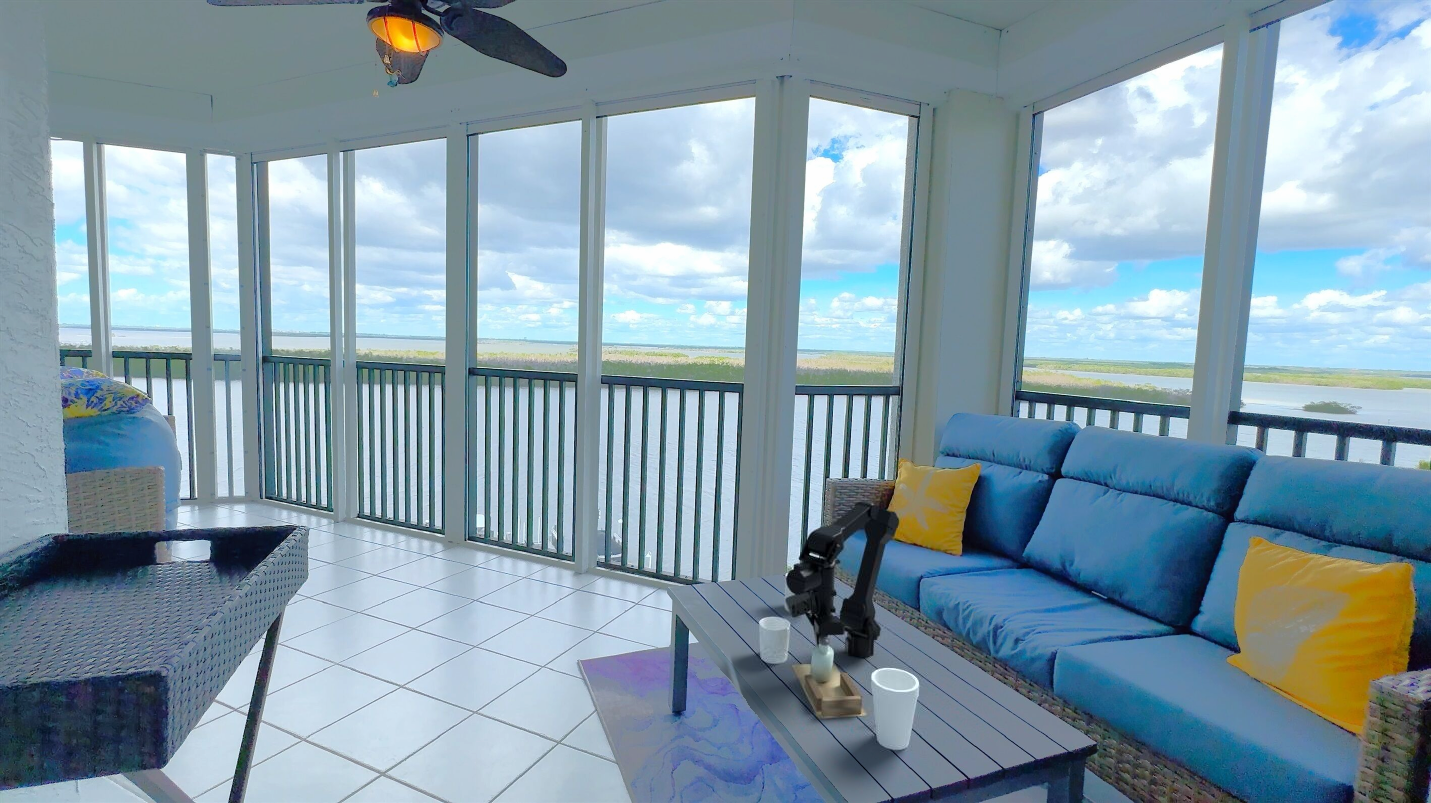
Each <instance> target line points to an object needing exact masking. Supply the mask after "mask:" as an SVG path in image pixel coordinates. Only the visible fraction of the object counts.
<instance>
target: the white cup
mask: <svg viewBox="0 0 1431 803" xmlns="http://www.w3.org/2000/svg"><path fill="white" fill-rule="evenodd" d="M758 630H759V631H758V633H759V634H758V636H759V638H758V640H759V651H760V656H759V657H760V658H761V660H762V661H764V662H765V663H768V664H772V665H773V664H774V665H778V664H783V663H784V662H786V661H787V660H788V653H789V645H790V631H791V622H790V621H789V620H788V619H786V618H784V617H779V616H769V617H768V616H767V617H764V618H761V619H760V620H759V622H758Z"/></svg>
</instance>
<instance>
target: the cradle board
mask: <svg viewBox="0 0 1431 803" xmlns="http://www.w3.org/2000/svg"><path fill="white" fill-rule="evenodd" d="M791 668H792V669H793V671H794V674H795V676H796V677H797V679H798V681H799V683H800V686H801V687H802V689H803V691H804V693H805V695H806V698H807V699H808V702H809V703H810V705H811V707H812V709H813V711H814V713H815V715H816V717H817V719H818V720H819V719H832V718H833V719H834V718H836V719H837V718H850V717H867V716H868V714H867V712H866V711H865V709H864V707H863V706H862V705H863V695H862V693H861V692H860V690H858V687H857V686H856V684H855V683H854V681H853V680H852V678H851V677H850V675H849V674H848V672H840V670H839V668H838V666H836V663H835V662H833V665H832V674H831V679H830V680H829V681H828V682H825V683H820V682H817V681H815V680H814V679H813V677H812V675H810V670H811V663H808V664H807V663H806V664H803V663H802V664H791Z"/></svg>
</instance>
